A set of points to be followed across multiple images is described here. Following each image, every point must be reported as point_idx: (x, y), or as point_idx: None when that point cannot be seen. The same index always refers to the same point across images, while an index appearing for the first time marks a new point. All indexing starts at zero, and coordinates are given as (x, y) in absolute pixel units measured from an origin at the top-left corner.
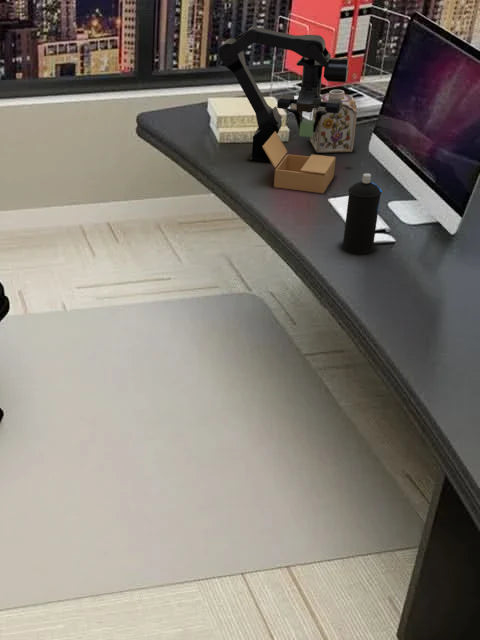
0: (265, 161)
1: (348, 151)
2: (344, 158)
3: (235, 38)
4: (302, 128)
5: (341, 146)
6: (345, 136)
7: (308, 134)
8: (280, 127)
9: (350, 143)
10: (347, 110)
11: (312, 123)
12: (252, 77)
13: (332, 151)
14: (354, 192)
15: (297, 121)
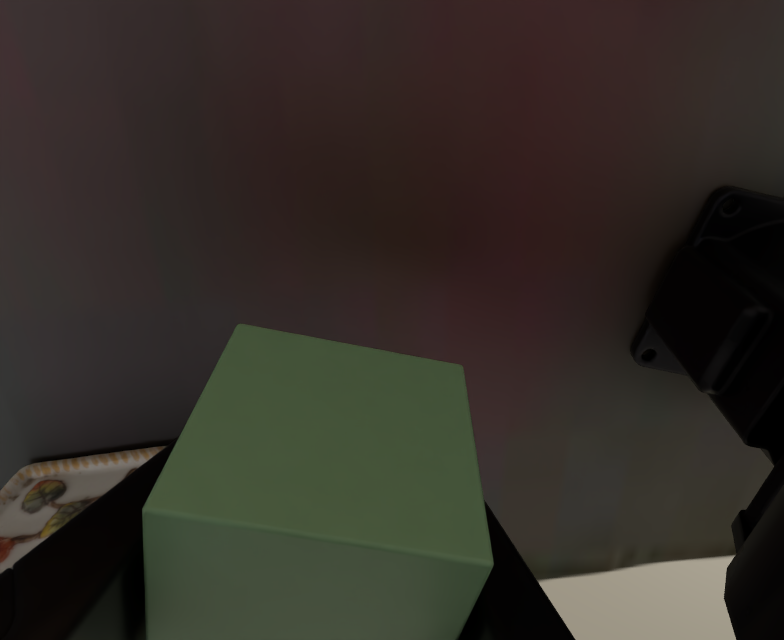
0: (763, 195)
1: (46, 461)
2: (41, 352)
3: None
4: (420, 457)
5: (80, 488)
6: (6, 566)
7: (296, 360)
8: (763, 571)
9: (1, 515)
10: None
11: (176, 566)
12: None
13: (158, 448)
14: None
15: (560, 636)
